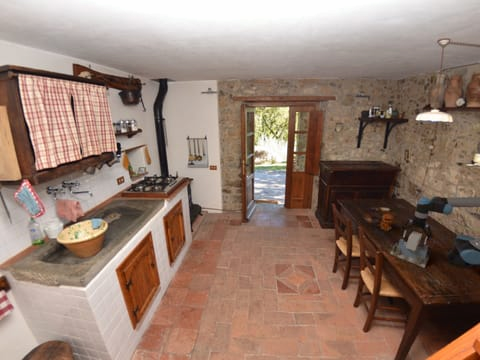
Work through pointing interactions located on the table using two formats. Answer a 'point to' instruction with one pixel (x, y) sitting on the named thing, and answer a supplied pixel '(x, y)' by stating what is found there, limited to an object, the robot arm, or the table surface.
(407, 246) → the wing bar
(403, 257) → the jig board
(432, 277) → the table surface
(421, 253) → the notched blue block
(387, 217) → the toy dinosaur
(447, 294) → the table surface
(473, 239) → the robot arm
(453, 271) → the table surface
